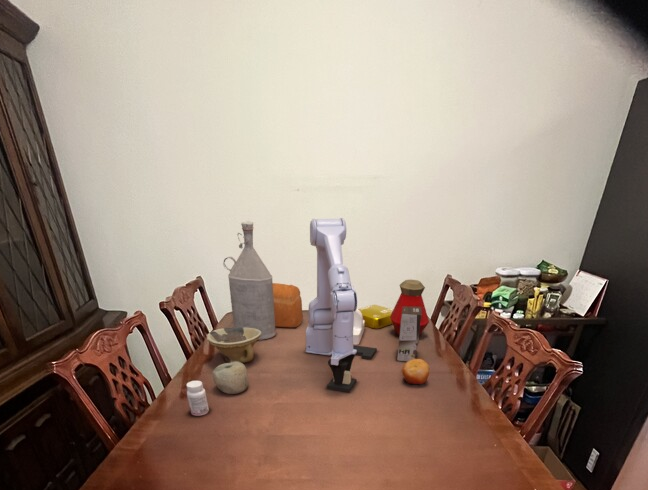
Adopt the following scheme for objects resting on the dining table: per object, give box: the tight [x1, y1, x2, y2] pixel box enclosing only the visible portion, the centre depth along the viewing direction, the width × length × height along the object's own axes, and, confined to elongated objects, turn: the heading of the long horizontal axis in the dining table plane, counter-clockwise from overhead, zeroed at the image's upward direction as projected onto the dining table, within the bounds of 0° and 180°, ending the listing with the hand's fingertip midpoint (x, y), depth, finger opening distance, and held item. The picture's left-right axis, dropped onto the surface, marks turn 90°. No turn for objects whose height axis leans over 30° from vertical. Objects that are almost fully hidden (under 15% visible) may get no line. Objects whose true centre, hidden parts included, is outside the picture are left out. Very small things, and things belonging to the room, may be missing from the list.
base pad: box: [353, 344, 378, 360], centre depth 146 cm, size 10×8×1 cm
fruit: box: [401, 358, 430, 385], centre depth 126 cm, size 8×8×8 cm
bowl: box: [206, 326, 261, 364], centre depth 139 cm, size 18×18×10 cm
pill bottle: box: [185, 380, 210, 417], centre depth 109 cm, size 5×5×8 cm
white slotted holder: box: [353, 308, 365, 346], centre depth 158 cm, size 10×18×11 cm, turn 169°
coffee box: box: [396, 306, 422, 362], centre depth 139 cm, size 9×6×16 cm
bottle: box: [390, 279, 430, 337], centre depth 157 cm, size 16×14×20 cm
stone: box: [211, 362, 249, 395], centre depth 121 cm, size 10×10×10 cm
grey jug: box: [222, 220, 277, 341], centre depth 151 cm, size 13×17×40 cm
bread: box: [273, 282, 303, 328], centre depth 170 cm, size 14×26×16 cm, turn 79°
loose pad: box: [326, 370, 358, 393], centre depth 124 cm, size 7×9×5 cm
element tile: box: [357, 304, 393, 330], centre depth 174 cm, size 15×15×5 cm
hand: (342, 378), depth 124 cm, fingers open, 6 cm apart
